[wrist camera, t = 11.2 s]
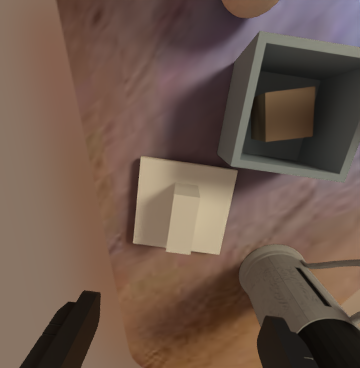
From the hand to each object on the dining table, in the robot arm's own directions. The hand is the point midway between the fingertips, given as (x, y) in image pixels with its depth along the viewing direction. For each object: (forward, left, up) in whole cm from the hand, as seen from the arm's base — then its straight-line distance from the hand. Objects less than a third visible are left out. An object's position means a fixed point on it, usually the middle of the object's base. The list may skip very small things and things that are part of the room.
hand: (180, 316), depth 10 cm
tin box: (-11, +8, -15) cm, 20 cm away
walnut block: (-11, +8, -15) cm, 20 cm away
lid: (0, 0, -15) cm, 15 cm away
